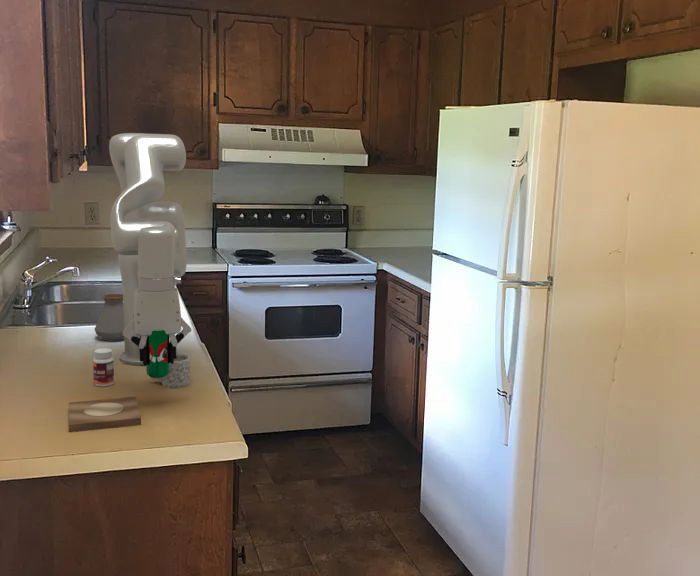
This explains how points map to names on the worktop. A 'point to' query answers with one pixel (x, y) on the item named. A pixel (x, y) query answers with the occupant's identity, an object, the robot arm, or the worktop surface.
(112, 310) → the coffee pot
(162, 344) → the soda can
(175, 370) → the mug
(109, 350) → the pill bottle
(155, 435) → the worktop surface
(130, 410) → the board
